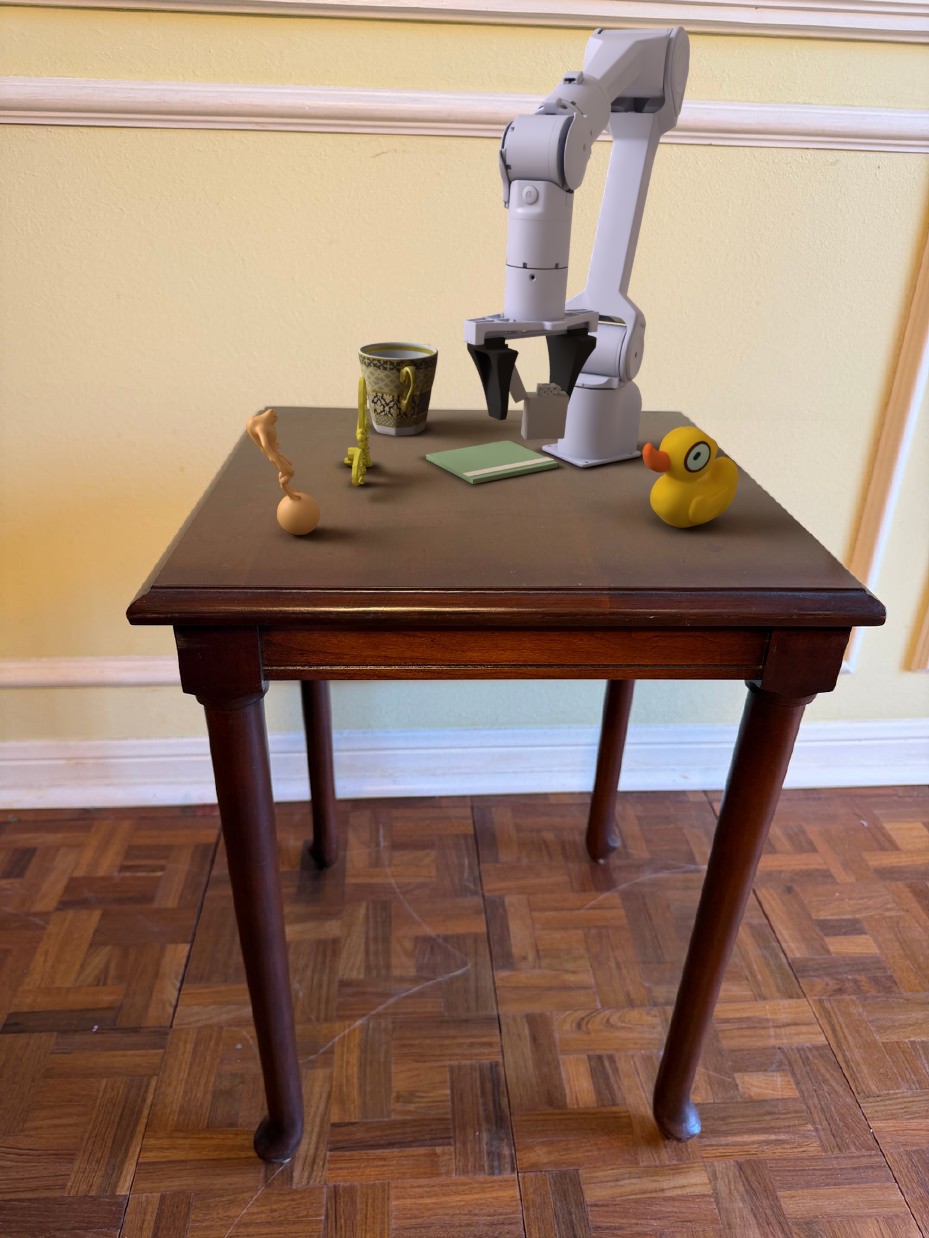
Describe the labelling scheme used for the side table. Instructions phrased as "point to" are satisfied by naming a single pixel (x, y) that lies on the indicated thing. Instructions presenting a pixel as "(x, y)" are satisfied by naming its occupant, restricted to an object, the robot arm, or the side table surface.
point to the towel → (491, 461)
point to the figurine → (284, 478)
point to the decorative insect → (360, 440)
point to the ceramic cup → (398, 385)
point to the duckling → (690, 478)
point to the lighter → (541, 409)
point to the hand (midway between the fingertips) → (527, 412)
